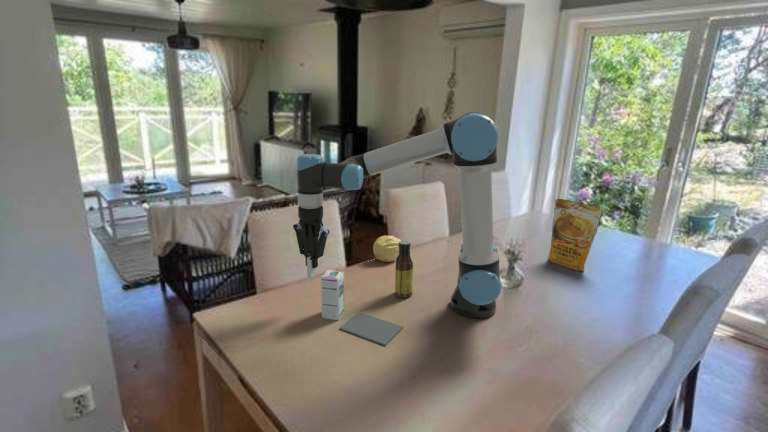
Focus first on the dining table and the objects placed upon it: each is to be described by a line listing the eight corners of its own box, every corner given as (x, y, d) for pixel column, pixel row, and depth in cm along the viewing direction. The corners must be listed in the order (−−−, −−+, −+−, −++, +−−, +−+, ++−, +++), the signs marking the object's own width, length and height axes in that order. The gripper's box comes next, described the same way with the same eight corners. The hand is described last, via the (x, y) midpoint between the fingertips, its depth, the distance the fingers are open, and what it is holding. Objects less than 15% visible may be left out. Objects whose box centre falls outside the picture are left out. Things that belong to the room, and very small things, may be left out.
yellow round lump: (379, 266, 168) (380, 241, 165) (369, 255, 179) (369, 232, 176) (404, 262, 173) (405, 238, 170) (392, 252, 183) (393, 229, 180)
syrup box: (339, 320, 127) (339, 278, 123) (321, 318, 128) (320, 276, 124) (344, 311, 132) (344, 270, 128) (327, 309, 133) (326, 268, 129)
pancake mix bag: (549, 256, 186) (559, 196, 178) (591, 270, 172) (604, 206, 164) (541, 259, 182) (551, 198, 174) (584, 274, 168) (597, 209, 160)
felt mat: (403, 328, 124) (403, 326, 124) (385, 346, 115) (385, 344, 115) (359, 313, 132) (359, 311, 132) (339, 329, 123) (339, 327, 122)
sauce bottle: (414, 292, 147) (418, 241, 141) (408, 300, 141) (411, 246, 136) (398, 288, 149) (400, 238, 144) (391, 296, 144) (393, 243, 138)
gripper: (335, 206, 124) (335, 276, 131) (302, 199, 130) (303, 267, 137) (319, 211, 118) (320, 285, 125) (285, 204, 124) (288, 275, 131)
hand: (311, 276), depth 131 cm, fingers closed
